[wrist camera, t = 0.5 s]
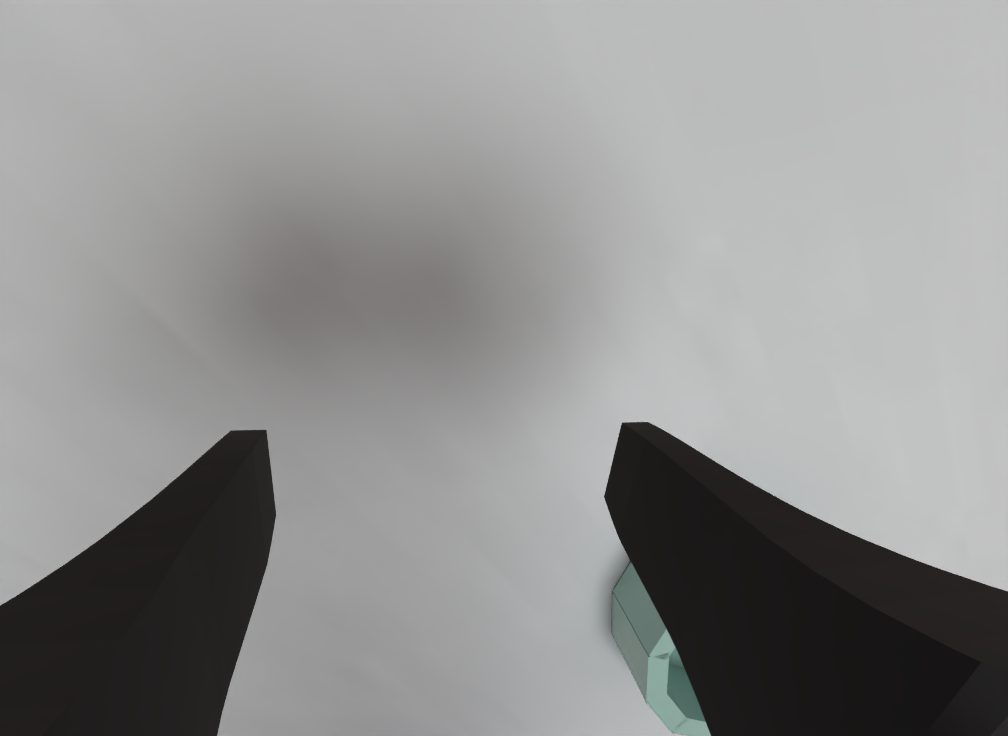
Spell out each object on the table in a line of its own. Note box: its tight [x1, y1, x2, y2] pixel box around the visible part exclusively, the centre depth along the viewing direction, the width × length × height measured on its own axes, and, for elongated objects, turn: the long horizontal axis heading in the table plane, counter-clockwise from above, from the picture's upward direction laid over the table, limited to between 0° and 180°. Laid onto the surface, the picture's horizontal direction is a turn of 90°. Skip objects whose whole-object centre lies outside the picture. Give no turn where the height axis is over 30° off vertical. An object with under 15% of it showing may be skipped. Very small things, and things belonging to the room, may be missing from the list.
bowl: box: [612, 562, 711, 736], centre depth 26 cm, size 10×10×4 cm
